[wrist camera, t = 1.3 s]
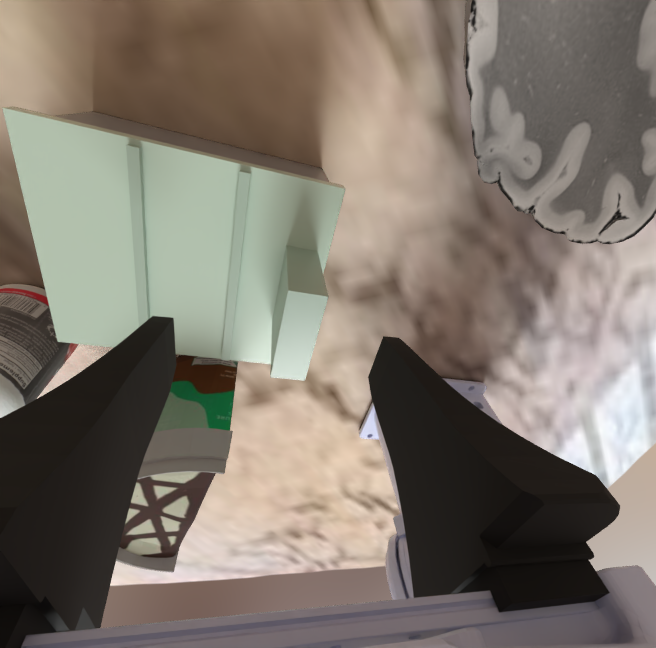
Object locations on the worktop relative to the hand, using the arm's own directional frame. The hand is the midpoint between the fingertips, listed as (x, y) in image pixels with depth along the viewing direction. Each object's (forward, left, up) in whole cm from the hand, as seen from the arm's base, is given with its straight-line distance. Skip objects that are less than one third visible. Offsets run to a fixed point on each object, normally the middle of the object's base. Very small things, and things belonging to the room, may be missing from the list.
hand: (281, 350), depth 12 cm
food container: (+6, +13, -11) cm, 18 cm away
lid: (+4, 0, -5) cm, 7 cm away
